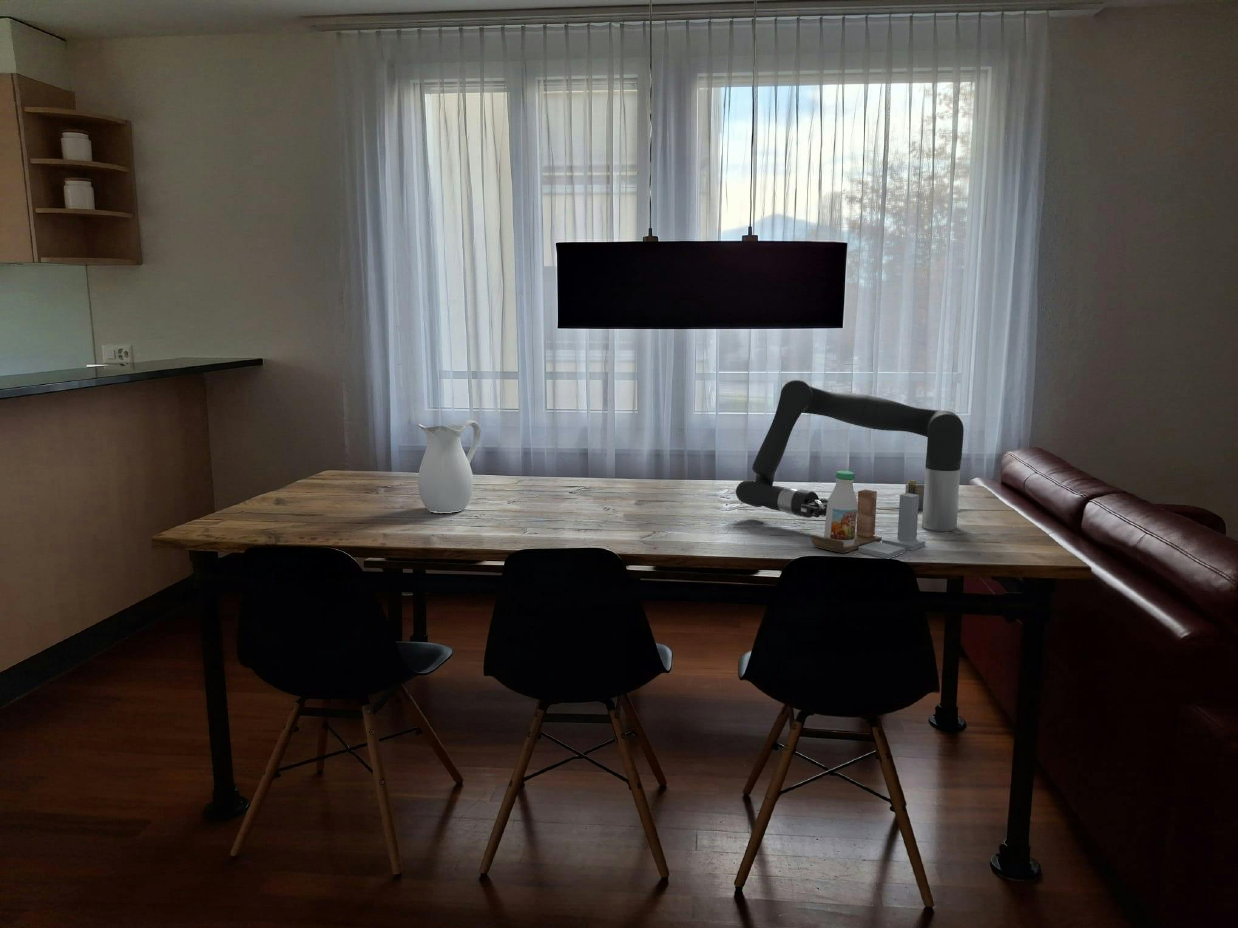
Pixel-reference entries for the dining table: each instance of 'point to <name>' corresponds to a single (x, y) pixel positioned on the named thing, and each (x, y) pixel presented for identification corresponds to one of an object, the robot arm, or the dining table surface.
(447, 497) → the pitcher
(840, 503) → the milk bottle
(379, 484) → the dining table surface
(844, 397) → the robot arm
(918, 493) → the ruin model on sheet
